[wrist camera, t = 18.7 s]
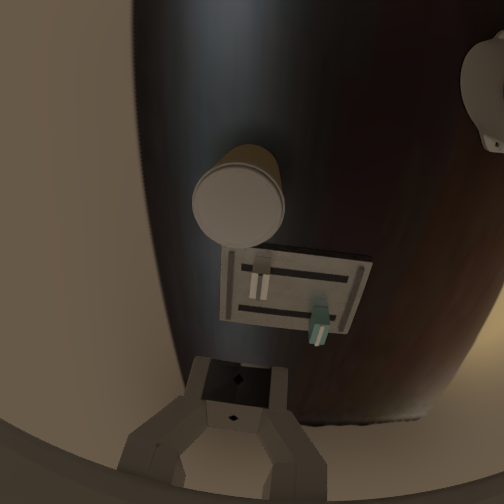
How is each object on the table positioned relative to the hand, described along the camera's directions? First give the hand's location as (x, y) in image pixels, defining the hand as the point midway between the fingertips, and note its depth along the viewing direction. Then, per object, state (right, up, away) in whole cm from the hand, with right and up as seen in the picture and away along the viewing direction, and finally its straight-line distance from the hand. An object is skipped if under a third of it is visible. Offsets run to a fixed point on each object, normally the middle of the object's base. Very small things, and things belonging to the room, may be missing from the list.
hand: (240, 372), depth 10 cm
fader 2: (+11, -6, +41) cm, 43 cm away
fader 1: (+2, +1, +38) cm, 38 cm away
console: (+7, -2, +41) cm, 41 cm away
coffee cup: (0, +15, +32) cm, 35 cm away
